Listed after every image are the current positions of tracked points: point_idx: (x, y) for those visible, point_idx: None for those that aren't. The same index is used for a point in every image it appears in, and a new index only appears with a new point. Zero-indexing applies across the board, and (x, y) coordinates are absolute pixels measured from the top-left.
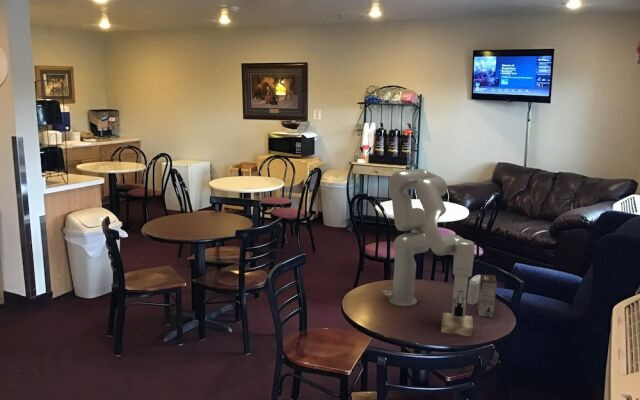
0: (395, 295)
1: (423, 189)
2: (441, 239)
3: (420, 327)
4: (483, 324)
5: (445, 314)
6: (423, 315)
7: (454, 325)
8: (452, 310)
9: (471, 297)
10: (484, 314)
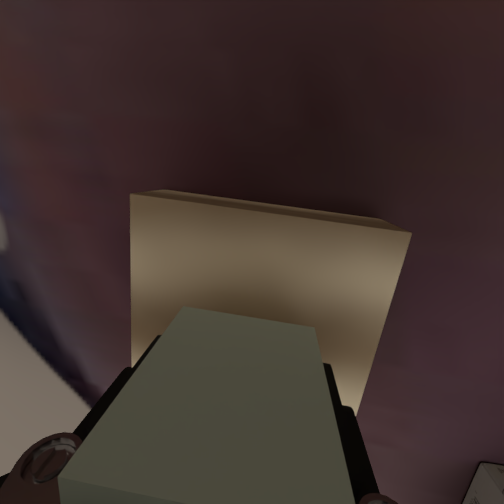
0: None
1: None
2: None
3: (206, 16)
4: None
5: (358, 253)
6: (485, 53)
7: (134, 296)
8: (154, 347)
9: None
10: (476, 500)
